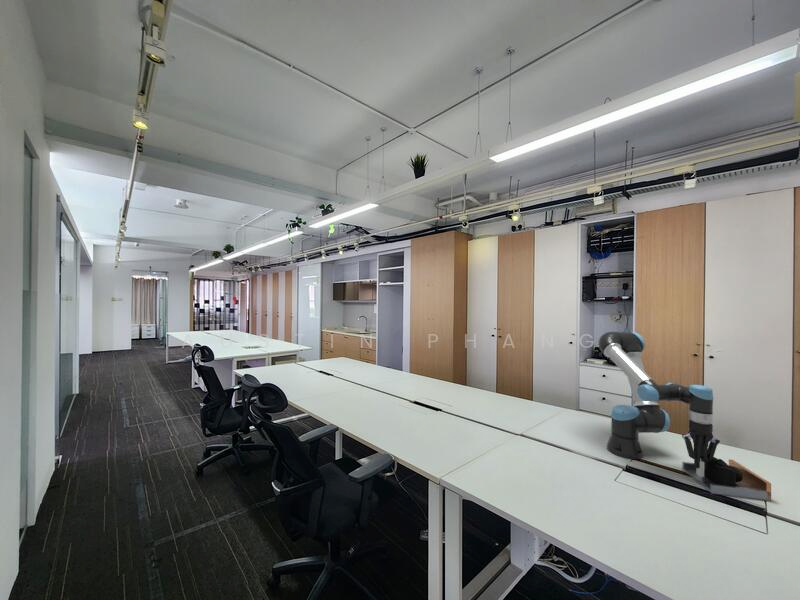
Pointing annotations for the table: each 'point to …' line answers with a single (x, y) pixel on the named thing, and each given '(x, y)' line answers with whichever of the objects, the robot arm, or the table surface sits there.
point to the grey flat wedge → (746, 488)
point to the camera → (722, 473)
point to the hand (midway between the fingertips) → (700, 475)
